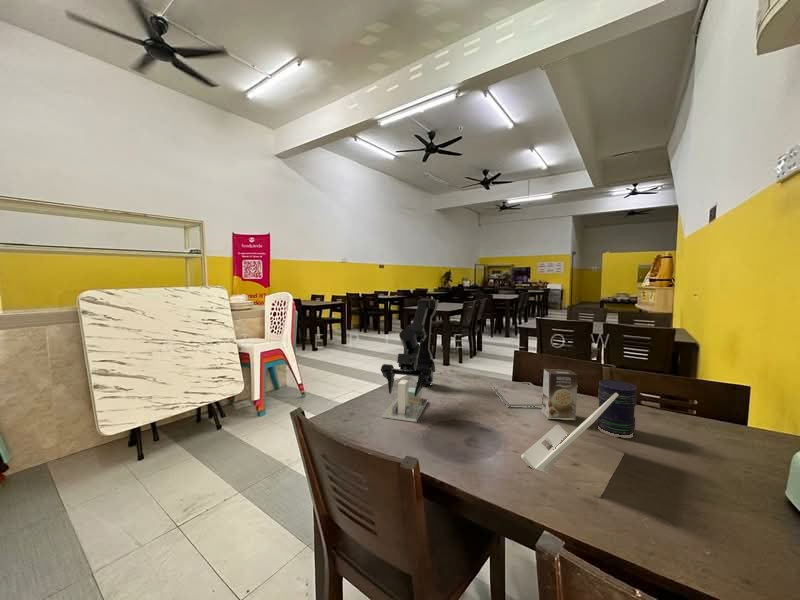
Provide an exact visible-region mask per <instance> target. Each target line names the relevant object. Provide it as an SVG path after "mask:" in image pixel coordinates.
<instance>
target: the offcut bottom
mask: <svg viewBox="0 0 800 600" xmlns="http://www.w3.org/2000/svg"><path fill="white" fill-rule="evenodd" d="M421 398H422V394H421V395H420V397H419V398H413V397H408V402H411V403H419V402H420V400H421Z"/></svg>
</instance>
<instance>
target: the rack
mask: <svg viewBox="0 0 800 600" xmlns="http://www.w3.org/2000/svg"><path fill="white" fill-rule="evenodd" d="M428 402H429V399H428V398H423V397H421V400H420V402H419V403H411V402H408V408H407V409H406V413H405V414H400V413H398V396H397V397H396V398H395V399H394V400H393V401H392V403H391V404H390V405H388V407H387V408H386V410H385V411H384V412H383V413H382V414H381V415H382V416H381V417H382V418H384V419H392V420H398V421H405V422H412V423H417V422H418V420H419V419H420V416H421V415H422V413H423V411H424V410H425V407H426V406H427V404H428Z"/></svg>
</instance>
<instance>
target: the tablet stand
mask: <svg viewBox="0 0 800 600" xmlns="http://www.w3.org/2000/svg"><path fill="white" fill-rule="evenodd" d="M618 395H619V394H617V393H615V394H614V395H612V396H611V397H610V398H609V399H608V400H607V401H606V402H605V403H604V404H603V405H602V406H600V407H599V406H598V408H597V409H596V410H595V411H594V412H593V413H592V414H591V415H589V417H587V418H586V419H585V420H584V421H583V422H581V424H579V425H578V427H576V428H575V429H574V430H573V431H572V432H571V433H570V435H569V436H568V437H567V438H566V439H565V440H564V441H563V442H562V443H561V444H559V443H560V442H561V440H563V438H564V437H565V436H567V434H569V433H568V432H567V431H566V430H565V429H564V428H563V427H562V426H561V425H559V424H556V425H555V426H553V427H551V429H550V430H549V431H548V432H546V433H545V434H544V435H543V436H542V437H540V438H539V439H538V440H537V441H536V442H535V443H534V444H532V446H530V447H529V448H527V449H526V451H524V452H523V453H522V454H521V459H522V460H523V461H524V463H525V464H526V465H527V466H528V467H529V466H530V467H533V468H535V469H537V470H540V471H543V472H545V473H547V474H548V473H549V472H547V471H549V469H552V468H551V467H554V466H553V465H554V463H556V461H557V460H559V459H560V457H561V455H562V454H563V453H564V451H565V450H566V449H567V448H568V447H569V446H570V445H571V444H572V442H573V441H574V440H575V439H576V438H577V437H578V438H579V436H580V435H581V434H583V433H584V432H585V431H586V430H587V429H588V428H589V427H590V426H591V425H592V424H593V423H594V422H595V421H597V418H598V417H599V416H600V415H601V414H602V413H603V412H604V410H605V409H606V408H607V407H608V406H609V405H610V404H611V403H612V402H613V401H614V399H615V398H616V397H617V396H618ZM544 441H546V442H547V443H548V444H549V445H550V446H551V445H552V446H553V447H552V446H551V448H549V449H548V448H547V447H546V446H545V445H544V444H543V443H542V442H544ZM558 444H559V445H558ZM557 445H558V446H557ZM556 446H557V447H556ZM555 447H556V449H555ZM553 449H554V450H553ZM530 467H529V468H530Z"/></svg>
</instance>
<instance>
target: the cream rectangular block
mask: <svg viewBox="0 0 800 600" xmlns="http://www.w3.org/2000/svg"><path fill="white" fill-rule="evenodd" d="M408 387H409V380H408V379H401V380H400V381H399V382H398V383H397V397H398V413H400V414H405V413H406V409H407V408H408Z"/></svg>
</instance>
